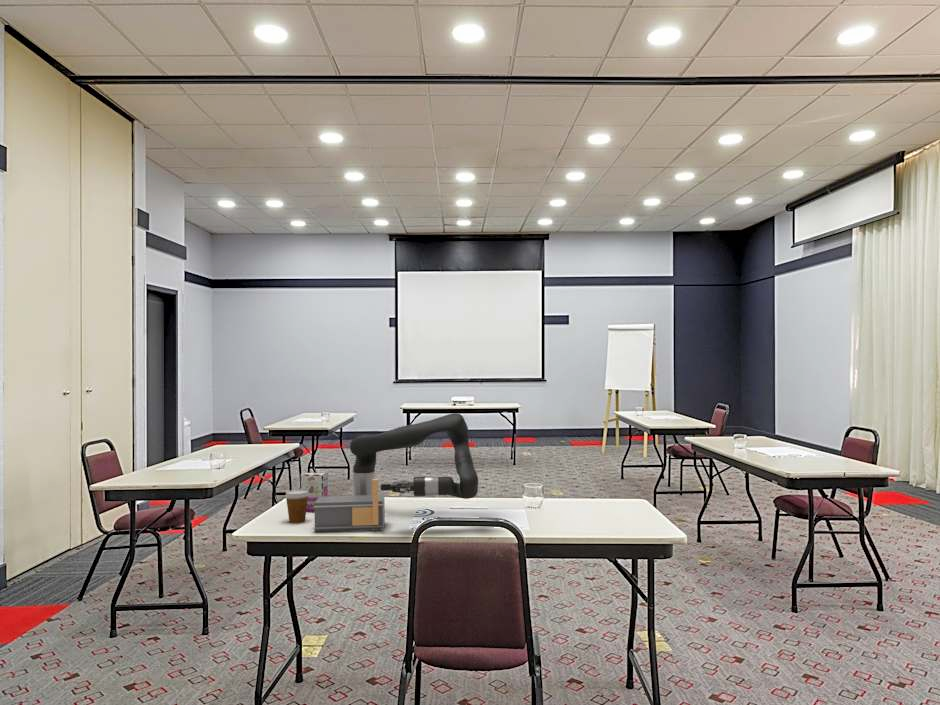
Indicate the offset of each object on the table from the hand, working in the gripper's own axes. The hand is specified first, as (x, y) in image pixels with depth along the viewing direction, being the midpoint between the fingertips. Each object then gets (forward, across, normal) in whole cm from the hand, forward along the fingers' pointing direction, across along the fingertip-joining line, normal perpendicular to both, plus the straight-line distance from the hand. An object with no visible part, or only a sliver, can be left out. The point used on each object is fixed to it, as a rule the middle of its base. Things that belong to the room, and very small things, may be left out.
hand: (380, 487), depth 250 cm
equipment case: (+13, -9, +17) cm, 23 cm away
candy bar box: (+32, -39, +17) cm, 53 cm away
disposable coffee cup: (+36, -21, +17) cm, 45 cm away
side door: (+6, -1, +15) cm, 16 cm away
